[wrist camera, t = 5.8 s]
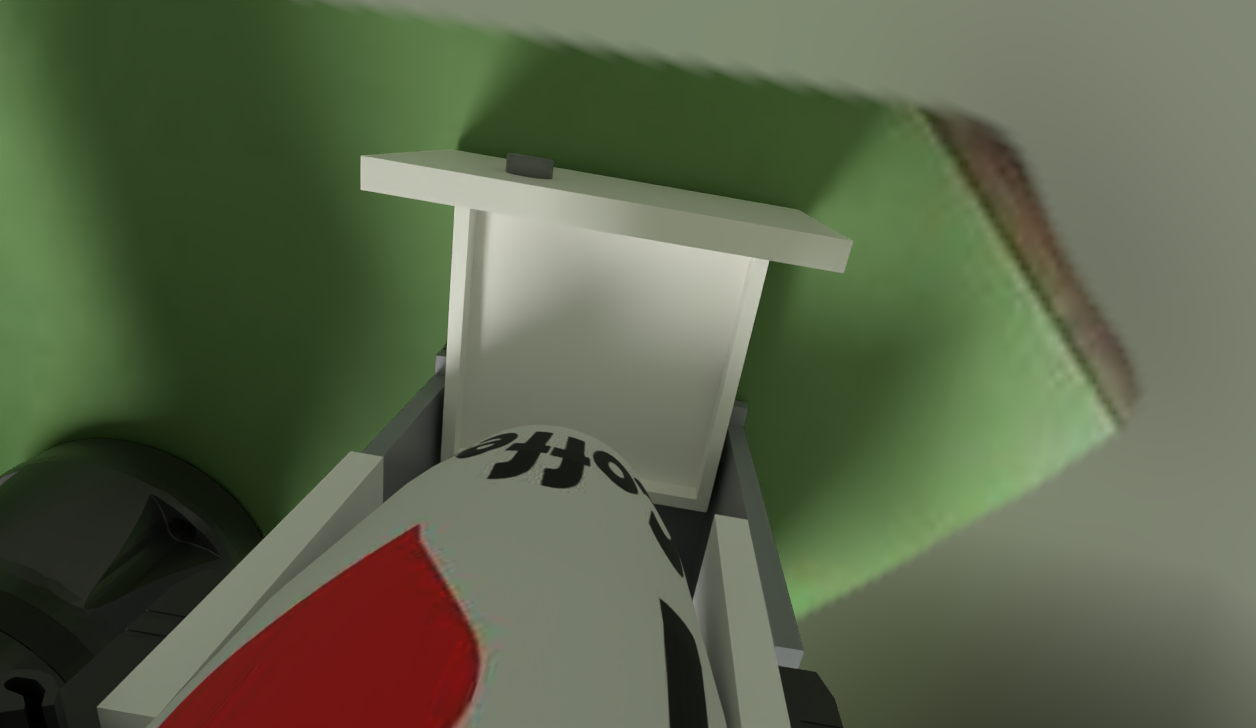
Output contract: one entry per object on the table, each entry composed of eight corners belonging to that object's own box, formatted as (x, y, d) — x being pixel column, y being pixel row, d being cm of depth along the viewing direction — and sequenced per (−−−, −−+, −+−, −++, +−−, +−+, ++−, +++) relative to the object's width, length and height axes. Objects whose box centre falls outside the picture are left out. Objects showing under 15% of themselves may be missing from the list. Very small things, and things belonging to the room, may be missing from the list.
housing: (690, 618, 34) (709, 952, 20) (429, 573, 34) (268, 878, 20) (746, 402, 29) (821, 646, 15) (441, 349, 29) (238, 548, 15)
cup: (773, 439, 14) (1006, 1109, 4) (642, 683, 16) (609, 1404, 7) (427, 309, 13) (-185, 762, 4) (354, 586, 16) (-92, 1236, 7)
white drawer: (726, 486, 31) (746, 599, 23) (434, 436, 31) (360, 534, 23) (801, 195, 25) (859, 221, 18) (449, 133, 25) (360, 134, 18)
